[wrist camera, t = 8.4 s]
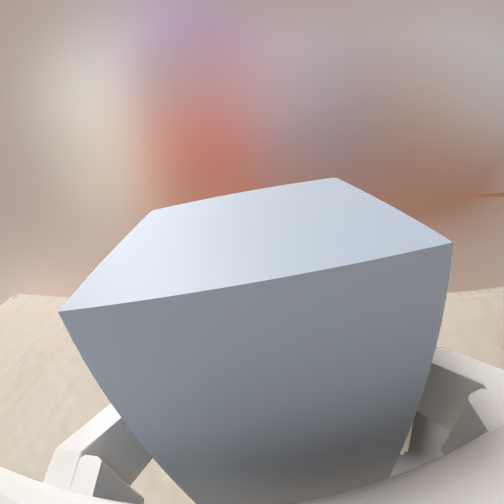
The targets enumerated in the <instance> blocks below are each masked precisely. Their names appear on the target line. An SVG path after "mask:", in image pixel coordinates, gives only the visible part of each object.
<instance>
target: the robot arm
mask: <svg viewBox="0 0 504 504" xmlns="http://www.w3.org/2000/svg"><path fill="white" fill-rule="evenodd" d="M417 411H419V412H420V413H422V414H423V415H425V416H426V417H428V418H429V419H431V420H432V421H434V422H436V423H437V424H439V425H440V426H442V427H443V428H445V429H447V430H448V431H450V434H449V436H448V437H447V439H446V441H445V443H444V444H443V446H442V448H441V451H442V453H443V456H441V457H439V458H437V459H434V460H432V461H430V462H428V463H425V464H423V465H421V466H418V467H416V468H413V469H411V470H408V471H406V472H403V473H401V474H398V475H395V476H392V477H390V478H387V479H384V480H381V481H378V482H375V483H371V484H368V485H365V486H361V487H358V488H354V489H351V490H347V491H343V492H339V493H335V494H331V495H326V496H322V497H317V498H312V499H306V500H301V501H295V502H288V503H281V504H504V370H502V369H500V368H497V367H494V366H491V365H489V364H486V363H483V362H481V361H478V360H475V359H473V358H470V357H467V356H465V355H462V354H459V353H457V352H454V351H451V350H449V349H446V348H444V347H441V348H437V346H436V348H435V352H434V356H433V360H432V364H431V368H430V371H429V375H428V378H427V381H426V385H425V388H424V391H423V394H422V397H421V400H420V403H419V406H418V409H417ZM152 458H153V457H152V456H151V455H150V454H149V452H148V451H147V450H146V449H145V448H144V446H143V445H142V444H141V443H140V441H139V440H138V439H137V438H136V436H135V435H134V434H133V433H132V431H131V430H130V429H129V427H128V426H127V425H126V423H125V422H124V421H123V419H122V418H121V417H120V415H119V414H118V412H117V411H116V410H115V408H114V407H113V405H112V404H109V405H108V406H107V407H106V408H104V409H103V410H102V411H101V412H100V413H98V414H97V415H96V416H95V417H93V418H92V419H91V420H90V421H89V422H87V423H86V424H85V425H84V426H83V427H81V428H80V429H79V430H78V431H76V432H75V433H74V434H73V435H71V436H70V437H69V438H68V439H67V440H65V441H64V442H63V443H62V444H60V445H59V446H58V447H57V448H56V449H55V452H54V454H53V457H52V459H51V462H50V465H49V467H48V470H47V472H46V475H45V478H44V481H43V483H42V482H39V481H36V480H33V479H30V478H28V477H25V476H22V475H20V474H17V473H15V472H12V471H10V470H7V469H5V468H3V467H1V466H0V504H144V498H143V497H142V496H141V495H140V494H139V493H138V492H136V491H135V490H134V489H133V488H132V487H131V486H130V485H131V484H132V483H133V481H134V480H135V479H136V478H137V476H138V475H139V474H140V473H141V472H142V470H143V469H144V468H145V467H146V465H147V464H148V463H149V462H150V460H151V459H152Z"/></svg>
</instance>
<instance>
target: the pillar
mask: <svg viewBox="0 0 504 504" xmlns="http://www.w3.org/2000/svg"><path fill="white" fill-rule="evenodd" d="M452 244H453V242H451V241H450V240H448V239H447V238H445V237H443V236H441V235H440V234H438V233H437V232H435V231H433V230H432V229H430V228H429V227H427V226H425V225H424V224H422V223H420V222H418V221H417V220H415V219H413V218H412V217H410V216H408V215H406V214H404V213H403V212H401V211H399V210H397V209H396V208H394V207H392V206H390V205H388V204H386V203H385V202H383V201H381V200H379V199H377V198H375V197H373V196H371V195H369V194H368V193H366V192H364V191H362V190H360V189H358V188H356V187H354V186H352V185H350V184H348V183H346V182H344V181H342V180H340V179H338V178H329V179H321V180H315V181H307V182H300V183H294V184H288V185H281V186H276V187H270V188H263V189H258V190H252V191H247V192H241V193H235V194H230V195H225V196H220V197H214V198H209V199H205V200H200V201H194V202H190V203H185V204H180V205H175V206H171V207H167V208H162V209H157V210H153V211H151V212H150V213H149V214H148V215H147V216H146V217H145V218H144V219H143V220H142V221H141V222H140V223H139V224H138V225H137V226H136V227H135V228H134V229H133V230H132V231H131V232H130V233H129V234H128V235H127V236H126V237H125V238H124V239H123V240H122V241H121V242H120V243H119V244H118V245H117V246H116V247H115V248H114V249H113V250H112V252H110V254H109V255H108V256H107V257H106V258H105V259H104V260H103V261H102V262H101V263H100V264H99V265H98V266H97V268H96V269H95V270H94V271H93V272H92V273H91V274H90V275H89V277H88V278H87V279H86V280H85V281H84V282H83V283H82V284H81V285H80V287H79V288H78V289H77V290H76V291H75V292H74V293H73V295H72V296H71V297H70V298H69V299H68V301H67V302H66V303H65V304H64V305H63V306H62V308H61V309H60V310H59V311H58V312H59V314H60V316H61V318H62V320H63V322H64V324H65V326H66V328H67V330H68V332H69V334H70V336H71V338H72V340H73V342H74V344H75V345H76V347H77V349H78V351H79V353H80V354H81V356H82V358H83V360H84V361H85V363H86V365H87V366H88V368H89V370H90V371H91V373H92V375H93V376H94V378H95V379H96V381H97V383H98V384H99V386H100V387H101V389H102V390H103V392H104V393H105V395H106V396H107V398H108V399H109V401H110V402H111V404H112V405H113V407H114V408H115V410H116V411H117V412H118V414H119V415H120V417H121V418H122V419H123V421H124V422H125V423H126V425H127V426H128V427H129V429H130V430H131V431H132V433H133V434H134V435H135V436H136V438H137V439H138V440H139V441H140V443H141V444H142V445H143V446H144V448H145V449H146V450H147V451H148V452H149V454H150V455H151V456H152V457H153V458H154V460H155V461H156V462H157V463H158V464H159V465H160V466H161V468H162V469H163V470H164V471H165V472H166V473H167V474H168V475H169V476H170V477H171V478H172V480H173V481H174V482H175V483H176V484H177V485H178V486H179V487H180V488H181V489H182V490H183V491H184V492H185V493H186V494H187V495H188V496H189V497H190V498H191V499H192V500H193V501H194V502H195V503H196V504H281V503H288V502H295V501H301V500H306V499H312V498H317V497H322V496H326V495H331V494H335V493H339V492H343V491H347V490H351V489H354V488H358V487H361V486H365V485H368V484H371V483H375V482H378V481H381V480H384V479H387V478H389V476H390V474H391V472H392V470H393V468H394V465H395V463H396V461H397V459H398V457H399V454H400V452H401V450H402V448H403V445H404V443H405V440H406V438H407V436H408V433H409V431H410V428H411V425H412V423H413V420H414V417H415V415H416V412H417V409H418V406H419V403H420V400H421V397H422V394H423V391H424V388H425V385H426V381H427V378H428V375H429V371H430V368H431V364H432V360H433V356H434V352H435V348H436V344H437V340H438V336H439V331H440V326H441V322H442V317H443V311H444V306H445V300H446V294H447V287H448V281H449V273H450V265H451V255H452Z"/></svg>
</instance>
